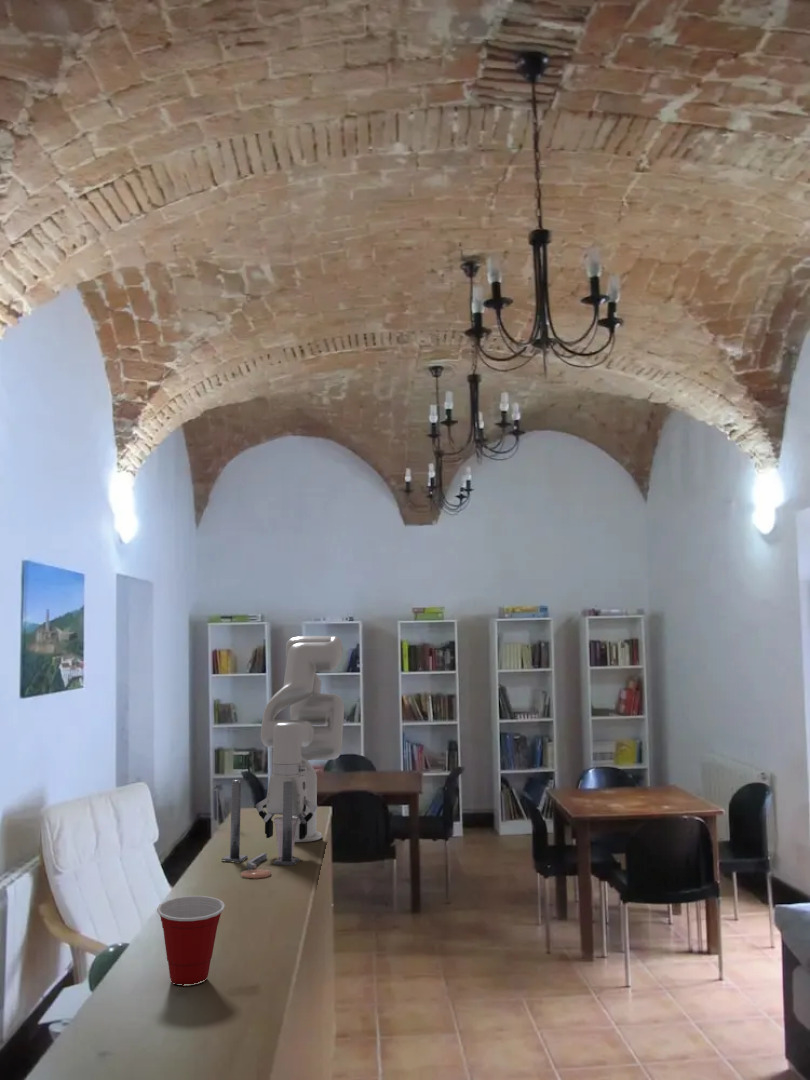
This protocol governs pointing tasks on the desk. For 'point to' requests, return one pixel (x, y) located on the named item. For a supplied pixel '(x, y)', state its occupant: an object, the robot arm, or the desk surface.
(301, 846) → the desk surface
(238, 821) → the post
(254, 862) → the bent rail
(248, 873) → the coaster
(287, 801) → the post
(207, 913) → the plastic cup
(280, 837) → the smoothie
